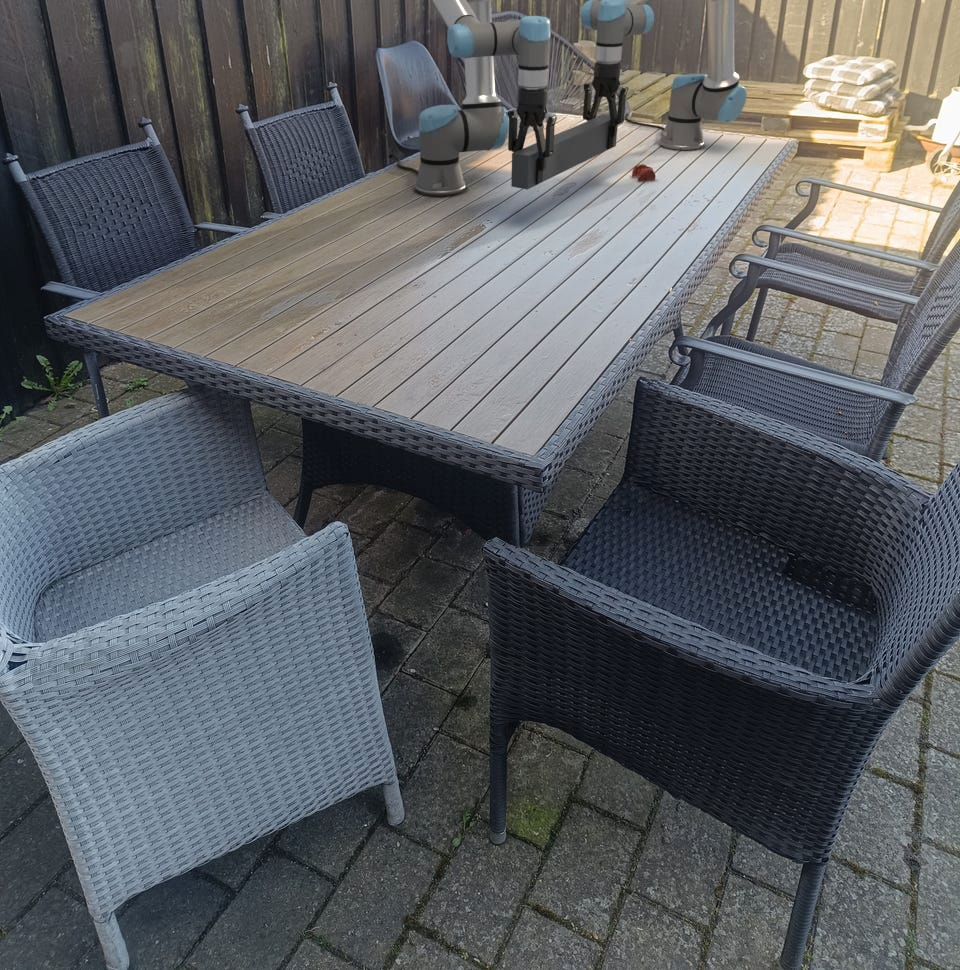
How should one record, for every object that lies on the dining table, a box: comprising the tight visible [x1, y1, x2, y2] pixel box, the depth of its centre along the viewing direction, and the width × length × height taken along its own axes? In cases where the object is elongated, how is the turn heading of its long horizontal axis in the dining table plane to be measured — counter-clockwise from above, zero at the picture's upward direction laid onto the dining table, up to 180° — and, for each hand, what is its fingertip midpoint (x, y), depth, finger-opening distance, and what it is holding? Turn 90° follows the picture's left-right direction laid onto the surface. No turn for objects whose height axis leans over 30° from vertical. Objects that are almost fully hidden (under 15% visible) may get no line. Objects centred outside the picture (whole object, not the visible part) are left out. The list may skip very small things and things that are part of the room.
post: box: [510, 114, 619, 190], centre depth 238 cm, size 54×5×8 cm, turn 147°
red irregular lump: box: [631, 163, 656, 182], centre depth 267 cm, size 6×4×8 cm
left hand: (529, 180), depth 226 cm, fingers closed on post, 5 cm apart
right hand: (601, 146), depth 255 cm, fingers closed on post, 5 cm apart
